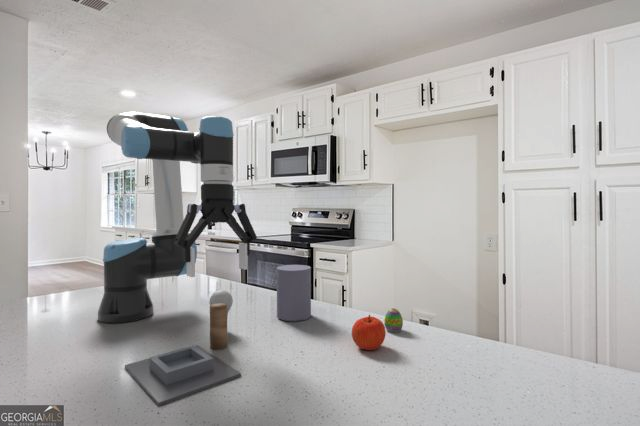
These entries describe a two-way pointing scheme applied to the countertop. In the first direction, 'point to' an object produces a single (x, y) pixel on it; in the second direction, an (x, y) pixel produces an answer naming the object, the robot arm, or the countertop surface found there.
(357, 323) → the apple
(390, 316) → the egg
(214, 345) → the peg
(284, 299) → the container
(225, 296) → the lightbulb
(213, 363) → the socket
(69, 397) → the countertop surface
